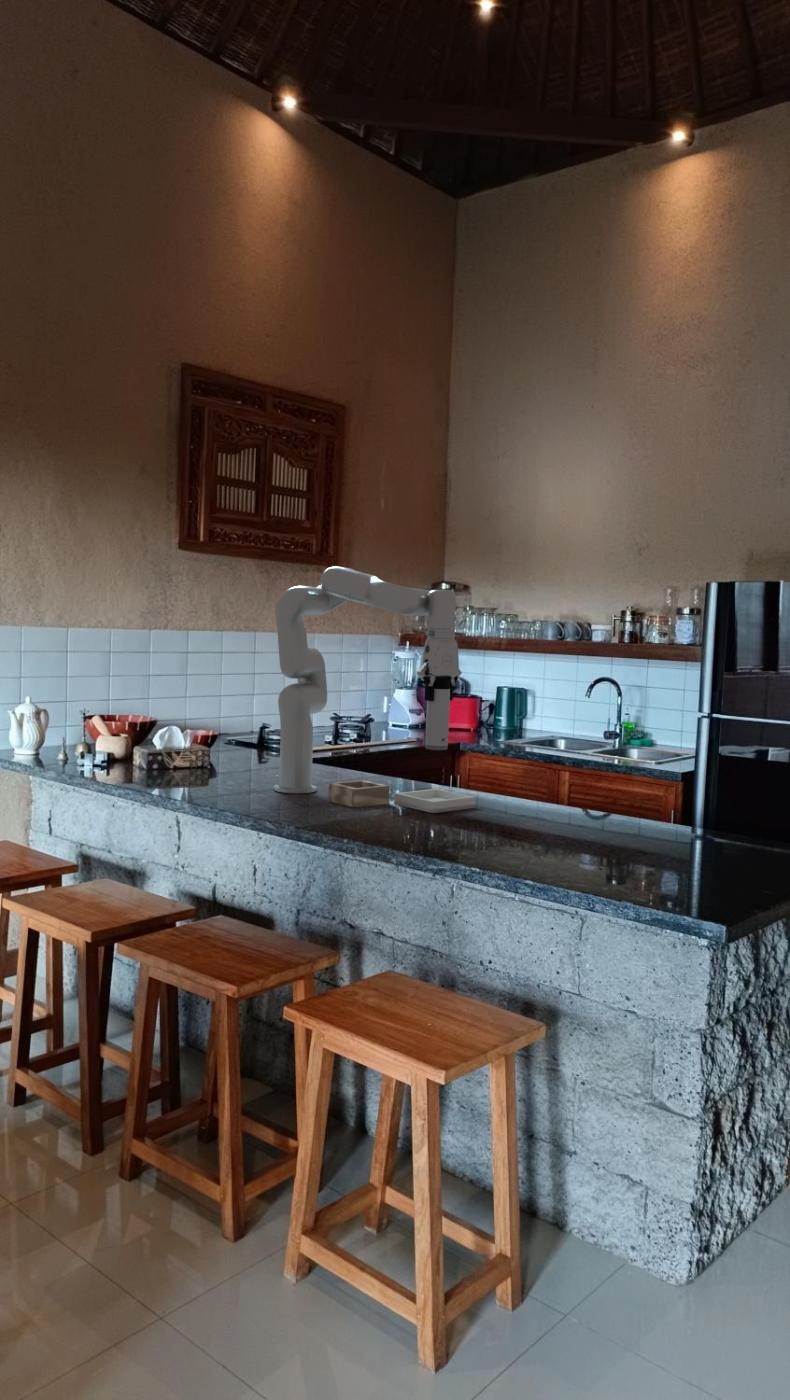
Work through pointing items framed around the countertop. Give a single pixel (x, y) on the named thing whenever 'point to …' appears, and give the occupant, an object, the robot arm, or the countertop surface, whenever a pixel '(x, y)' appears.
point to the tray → (434, 800)
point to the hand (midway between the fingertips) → (438, 699)
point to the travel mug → (438, 716)
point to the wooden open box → (358, 793)
